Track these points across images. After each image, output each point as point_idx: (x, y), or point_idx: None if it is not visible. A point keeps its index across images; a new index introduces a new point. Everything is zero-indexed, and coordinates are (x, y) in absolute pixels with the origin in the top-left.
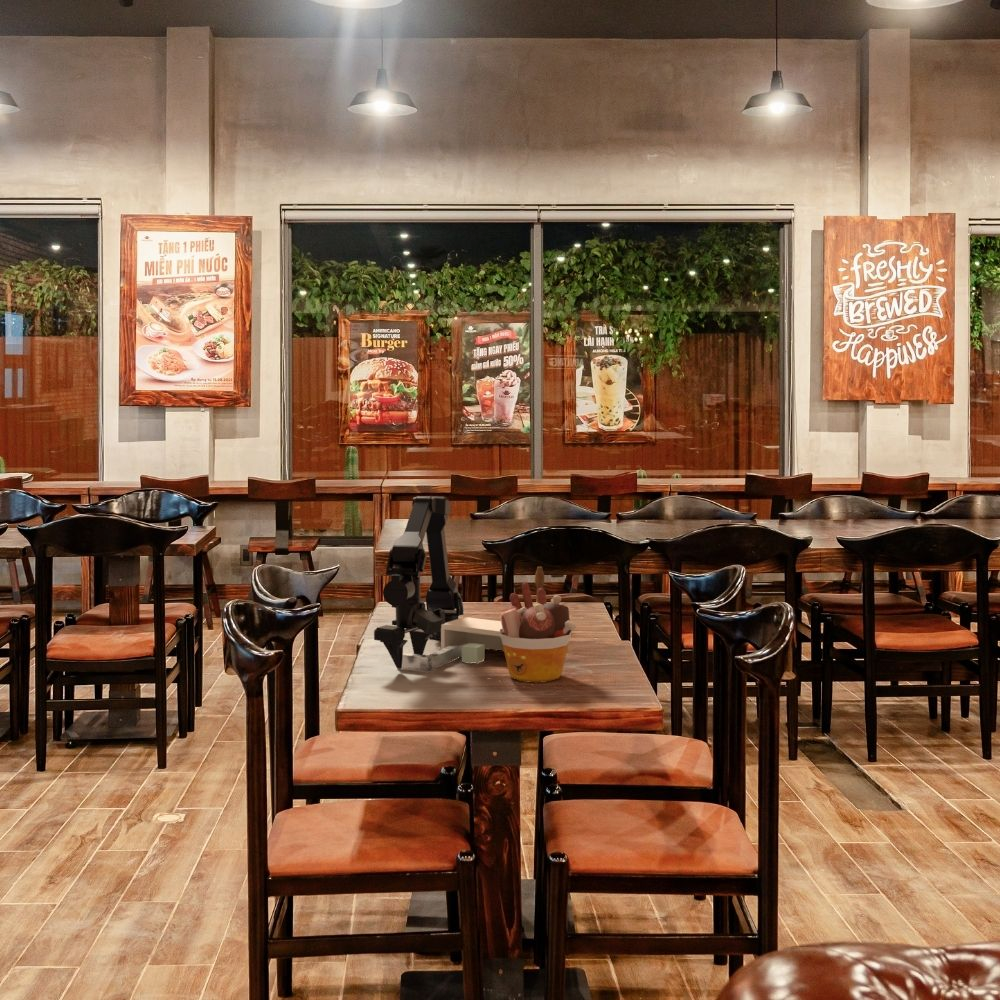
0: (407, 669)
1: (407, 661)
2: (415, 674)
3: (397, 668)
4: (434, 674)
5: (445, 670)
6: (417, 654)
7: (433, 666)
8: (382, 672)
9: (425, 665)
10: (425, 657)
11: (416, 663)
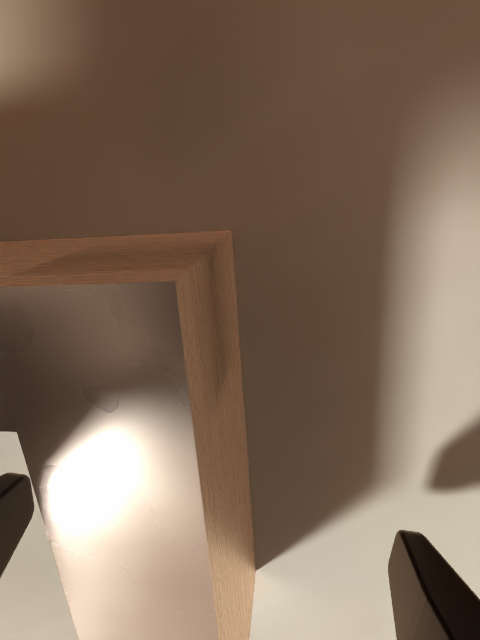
0: (247, 485)
1: (235, 565)
2: (390, 319)
3: (253, 575)
4: (287, 72)
5: (10, 62)
6: (76, 561)
7: (53, 246)
8: None
9: (217, 286)
10: (184, 334)
11: (229, 437)
